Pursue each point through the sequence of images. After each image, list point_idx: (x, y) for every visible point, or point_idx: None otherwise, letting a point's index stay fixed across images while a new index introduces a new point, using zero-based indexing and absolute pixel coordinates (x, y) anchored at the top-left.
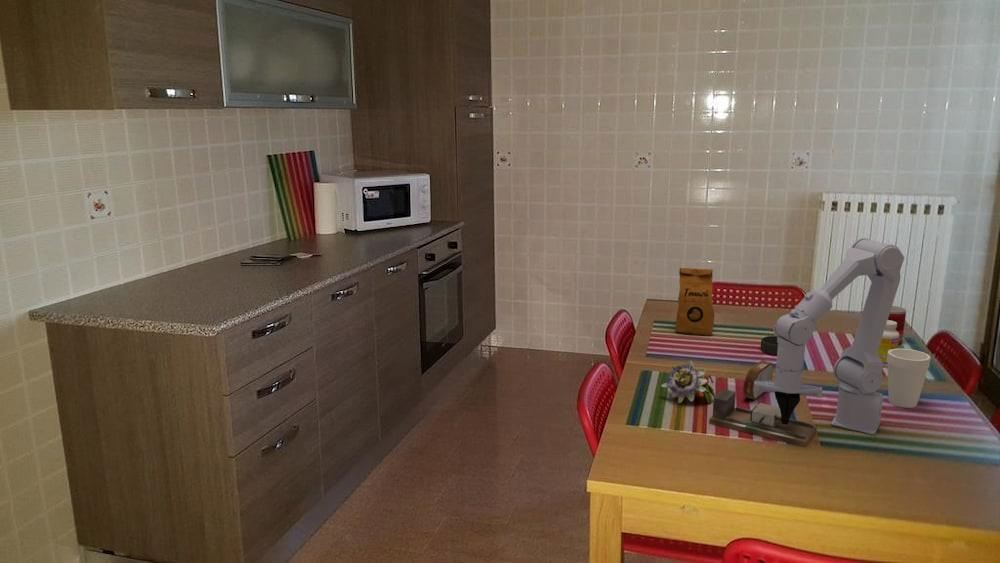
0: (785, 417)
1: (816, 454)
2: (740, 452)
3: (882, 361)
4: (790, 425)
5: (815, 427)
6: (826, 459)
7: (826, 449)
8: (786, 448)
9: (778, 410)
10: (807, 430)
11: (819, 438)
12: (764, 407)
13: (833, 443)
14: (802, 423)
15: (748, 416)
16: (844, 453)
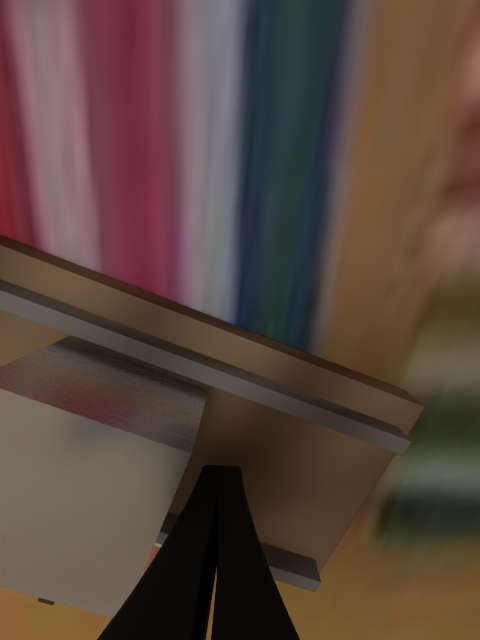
0: (213, 585)
1: (333, 603)
2: (45, 633)
3: None
4: (265, 427)
5: (410, 426)
6: (361, 630)
7: (389, 561)
8: None
9: (158, 520)
10: (350, 471)
11: (392, 469)
12: (30, 480)
13: (443, 505)
14: (341, 429)
15: (10, 348)
16: (454, 579)
